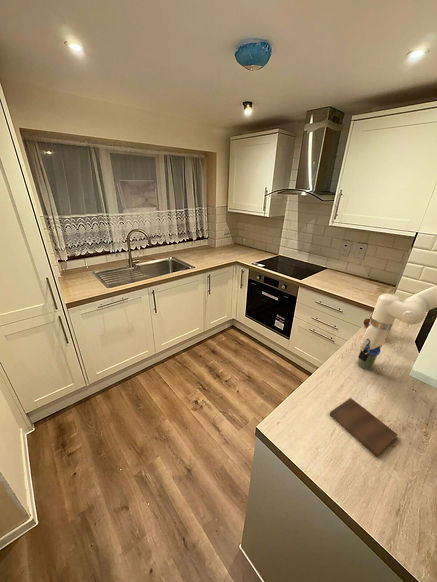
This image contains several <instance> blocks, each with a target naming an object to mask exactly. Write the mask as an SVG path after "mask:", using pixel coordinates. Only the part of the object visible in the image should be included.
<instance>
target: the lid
mask: <svg viewBox="0 0 437 582" xmlns="http://www.w3.org/2000/svg"><path fill="white" fill-rule="evenodd" d="M367 346H368V347H369V345H367ZM369 348H370V347H369ZM365 350H366V351H367V350H368V348H367V347H366V348H365ZM368 354H369V355H373V356H377V357H378V356H380V354H381V349H380V348H379V347H377V348H375V349H372V350H370V352H369V353H368Z"/></svg>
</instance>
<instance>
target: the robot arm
mask: <svg viewBox="0 0 437 582" xmlns="http://www.w3.org/2000/svg"><path fill="white" fill-rule="evenodd" d="M436 308H437V285H434V286H432V287H428V288H426V289H424V290H422V291H419V292H417V293H415V294H412V295H410V296H409V297H407V298H405V299H404V300H403V301H402V299H401V298H400V297H399V296H398V295H395V294H392V293H381V294H380V295H379V296H378V298H377V301H376V304H375V306H374V310H373V312H372V315H371V316H372V317H371V316H370V317H371V320H370V323H369V324H370V325H369V326H368V328H367V327H366V330H365V332H364V334H363V335H362V336H363V337H362V338H361V341H360V350H359V354H358V358H360V359H361V360H363V361H364V362H366V360H367V358H368V355H369V354H368V353H369V352H370V350H372V349H375V348H377V347H379V348H380V350H381V348H382V347H383V345H384V344H385V342H386V340H387V337H388V335H389V332H390V331H391V330H392V328H393V325H394V322H395V321H396V319H397V320H399V321H400V322H403V323H405V324H408V325H417V324H420V323H422V322H423V320H424V318H425V316H426V313H427V312H429V311H431V310H433V309H436ZM367 345H369V347H370V348H369V347H368V346H367ZM366 347H367V348H368V350H367V351H366V350H365V348H366ZM358 358H357V359H358Z"/></svg>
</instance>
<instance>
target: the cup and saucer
mask: <svg viewBox="0 0 437 582" xmlns="http://www.w3.org/2000/svg"><path fill="white" fill-rule="evenodd" d="M371 317H372V315H370V317H369V318H365V319H364V320H363V326H364V327H366V329H367V328H368V326H369V325H370V324H369V323H370V320H371Z"/></svg>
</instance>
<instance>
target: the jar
mask: <svg viewBox="0 0 437 582" xmlns="http://www.w3.org/2000/svg"><path fill="white" fill-rule="evenodd" d="M377 358H378V355H377V356H373V355H368V358H367V360H366V362H364V361H363V360H361V359H360V358H357V362H356V365H357V366H358V367H359V368H360V369H362V370H366V371H371V370H373V367H374V365H375V362H376V360H377Z"/></svg>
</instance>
